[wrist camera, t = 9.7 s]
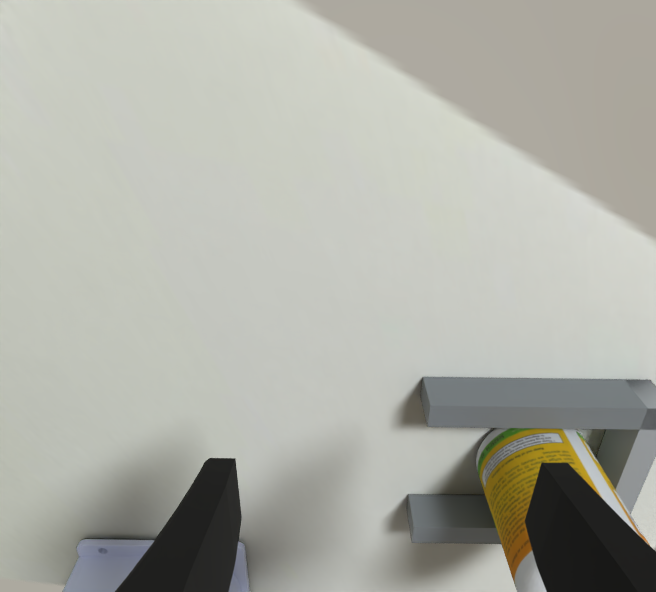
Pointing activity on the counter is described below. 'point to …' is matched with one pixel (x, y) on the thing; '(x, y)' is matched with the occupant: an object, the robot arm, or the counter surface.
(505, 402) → the gray u-shaped bracket
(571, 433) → the supplement bottle
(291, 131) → the counter surface
